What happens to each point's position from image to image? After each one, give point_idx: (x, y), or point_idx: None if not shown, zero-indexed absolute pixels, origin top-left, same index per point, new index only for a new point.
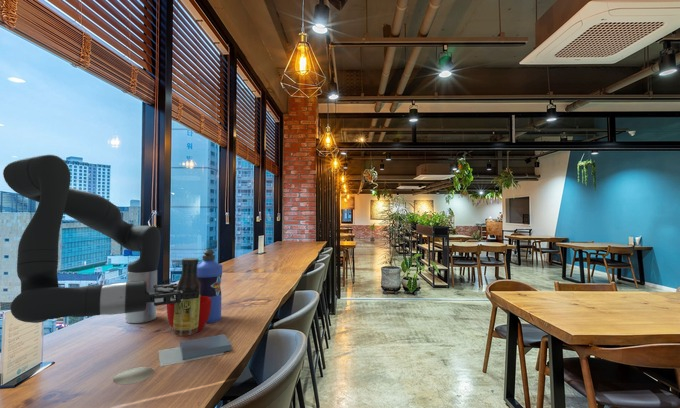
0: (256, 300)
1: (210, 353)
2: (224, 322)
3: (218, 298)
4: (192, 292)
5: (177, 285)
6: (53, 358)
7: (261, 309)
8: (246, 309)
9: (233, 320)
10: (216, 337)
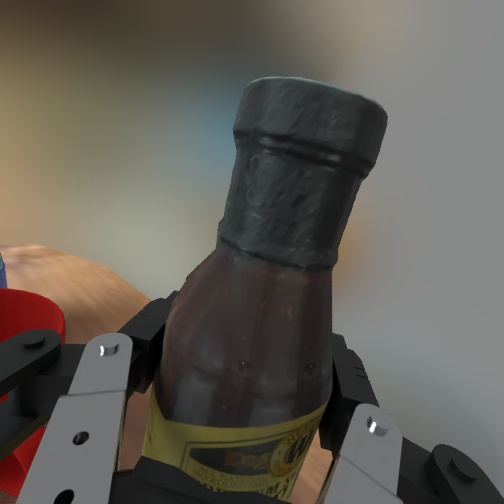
0: (18, 246)
1: None
2: None
3: (5, 276)
4: (363, 371)
5: (247, 378)
6: None
7: (79, 269)
8: (38, 276)
9: (65, 321)
10: None
